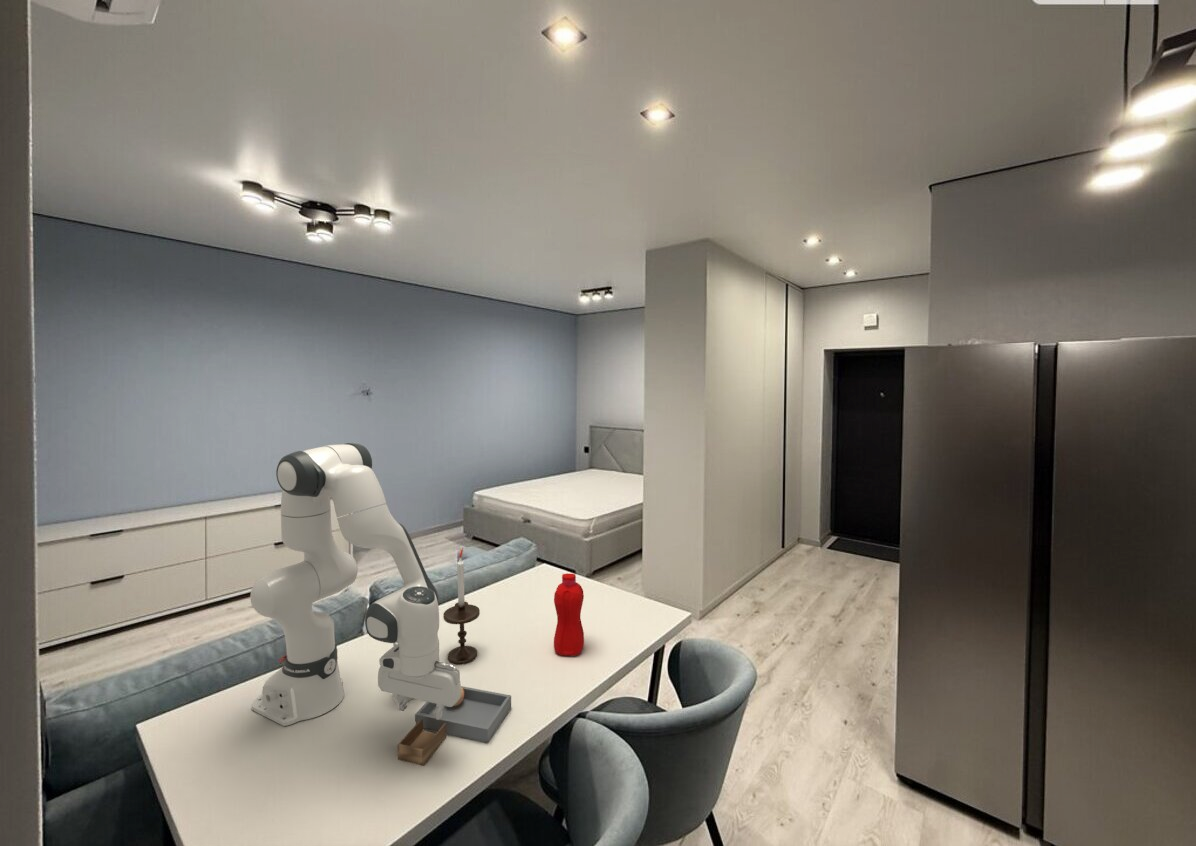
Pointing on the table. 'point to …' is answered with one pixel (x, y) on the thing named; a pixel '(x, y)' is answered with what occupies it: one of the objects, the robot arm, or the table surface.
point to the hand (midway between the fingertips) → (419, 713)
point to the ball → (460, 697)
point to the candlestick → (461, 621)
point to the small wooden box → (420, 744)
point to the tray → (469, 715)
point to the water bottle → (568, 617)
